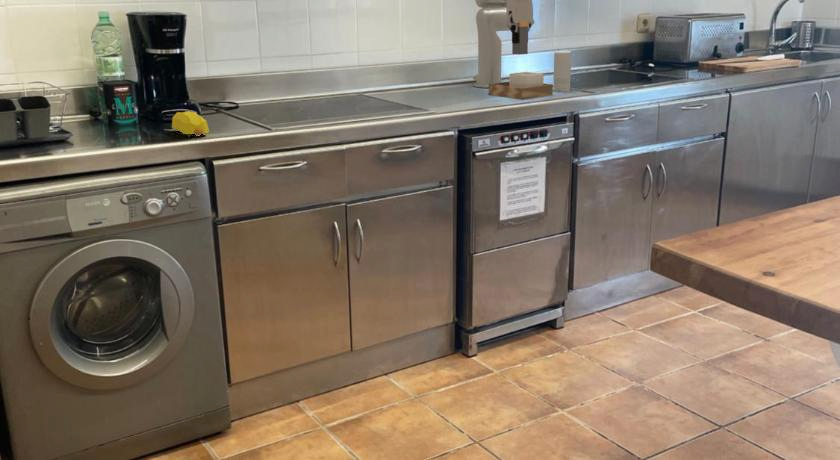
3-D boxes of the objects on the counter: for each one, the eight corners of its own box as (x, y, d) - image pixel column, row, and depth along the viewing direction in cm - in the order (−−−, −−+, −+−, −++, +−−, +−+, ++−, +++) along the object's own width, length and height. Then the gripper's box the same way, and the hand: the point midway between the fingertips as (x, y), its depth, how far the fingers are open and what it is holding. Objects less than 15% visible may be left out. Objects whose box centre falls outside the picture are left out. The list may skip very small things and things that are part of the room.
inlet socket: (509, 95, 311) (509, 73, 308) (525, 92, 316) (526, 71, 314) (526, 97, 304) (527, 75, 302) (543, 95, 310) (543, 73, 307)
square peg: (511, 54, 307) (512, 21, 304) (520, 53, 310) (520, 20, 306) (519, 54, 304) (520, 21, 301) (527, 53, 306) (528, 20, 303)
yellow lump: (194, 128, 258) (169, 131, 254) (191, 107, 256) (167, 110, 252) (212, 137, 244) (187, 140, 240) (210, 115, 242) (184, 117, 238)
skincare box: (569, 93, 317) (571, 52, 312) (552, 93, 318) (553, 52, 313) (570, 90, 324) (571, 50, 320) (553, 90, 326) (554, 50, 321)
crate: (488, 96, 313) (488, 84, 312) (517, 91, 323) (518, 80, 321) (523, 101, 300) (523, 88, 298) (552, 96, 309) (552, 84, 308)
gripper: (529, -9, 308) (528, 41, 313) (496, -8, 299) (496, 43, 304) (543, -9, 303) (543, 42, 308) (511, -9, 293) (510, 44, 298)
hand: (520, 42), depth 306 cm, fingers closed on square peg, 4 cm apart
